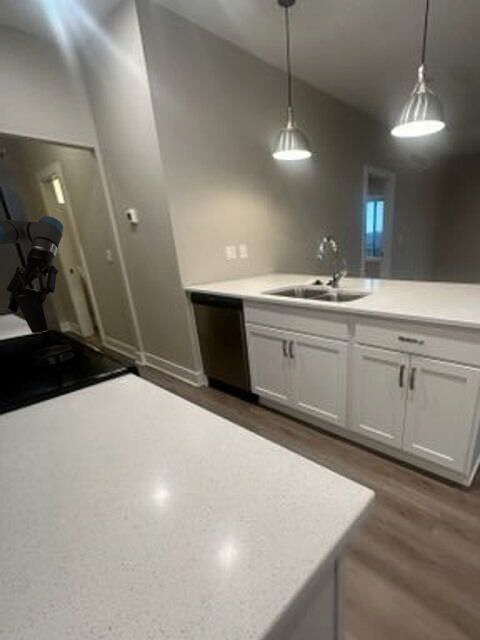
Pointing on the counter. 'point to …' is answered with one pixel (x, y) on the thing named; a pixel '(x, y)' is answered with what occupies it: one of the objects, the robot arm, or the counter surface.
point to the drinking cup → (31, 309)
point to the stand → (52, 356)
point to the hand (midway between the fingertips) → (24, 309)
